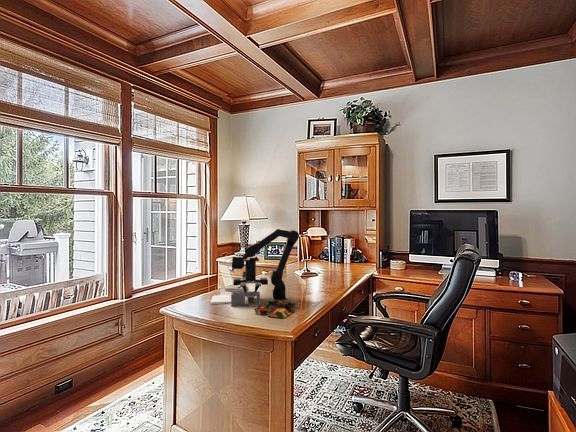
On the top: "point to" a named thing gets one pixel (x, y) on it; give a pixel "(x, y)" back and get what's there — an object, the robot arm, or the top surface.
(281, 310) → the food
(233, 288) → the electronic device
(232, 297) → the grey notched block
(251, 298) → the plug
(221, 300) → the white mat
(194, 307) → the top surface
